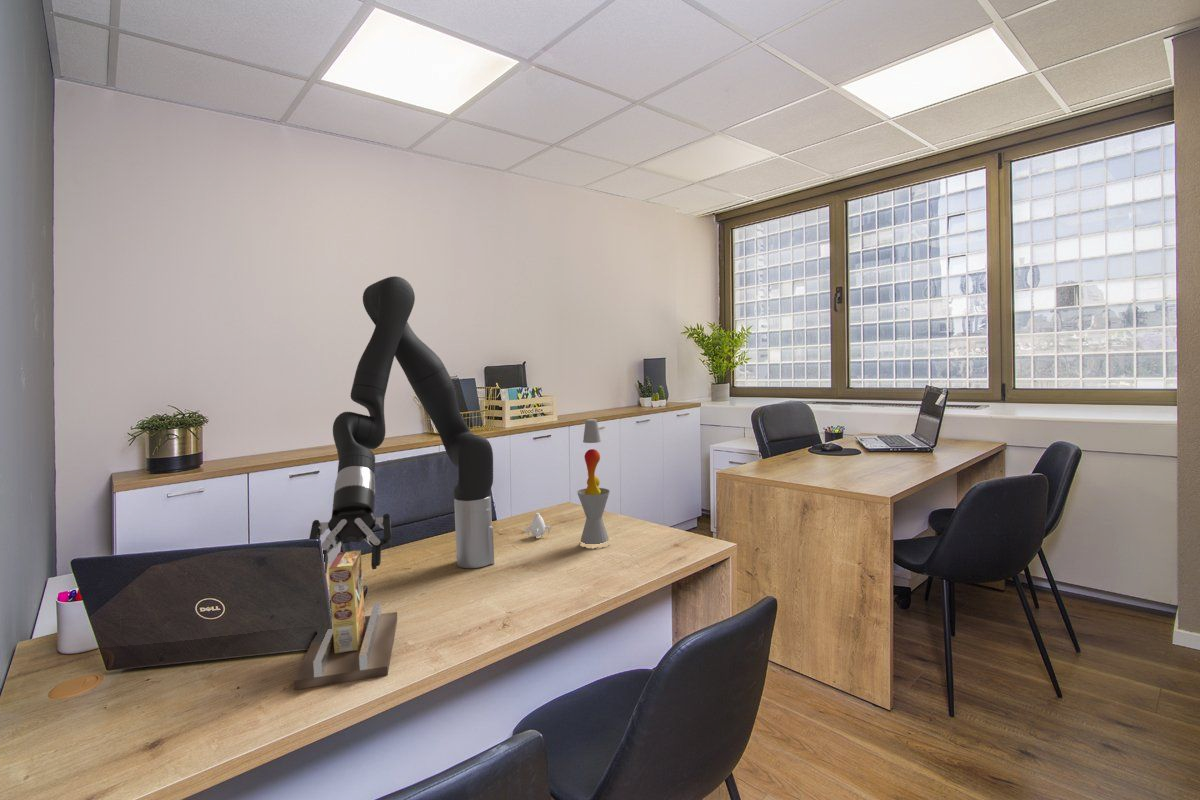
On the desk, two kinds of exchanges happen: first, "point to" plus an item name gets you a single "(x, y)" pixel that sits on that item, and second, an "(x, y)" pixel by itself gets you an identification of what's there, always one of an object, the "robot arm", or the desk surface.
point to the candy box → (347, 601)
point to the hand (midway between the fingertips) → (348, 570)
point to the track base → (350, 654)
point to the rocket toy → (537, 526)
